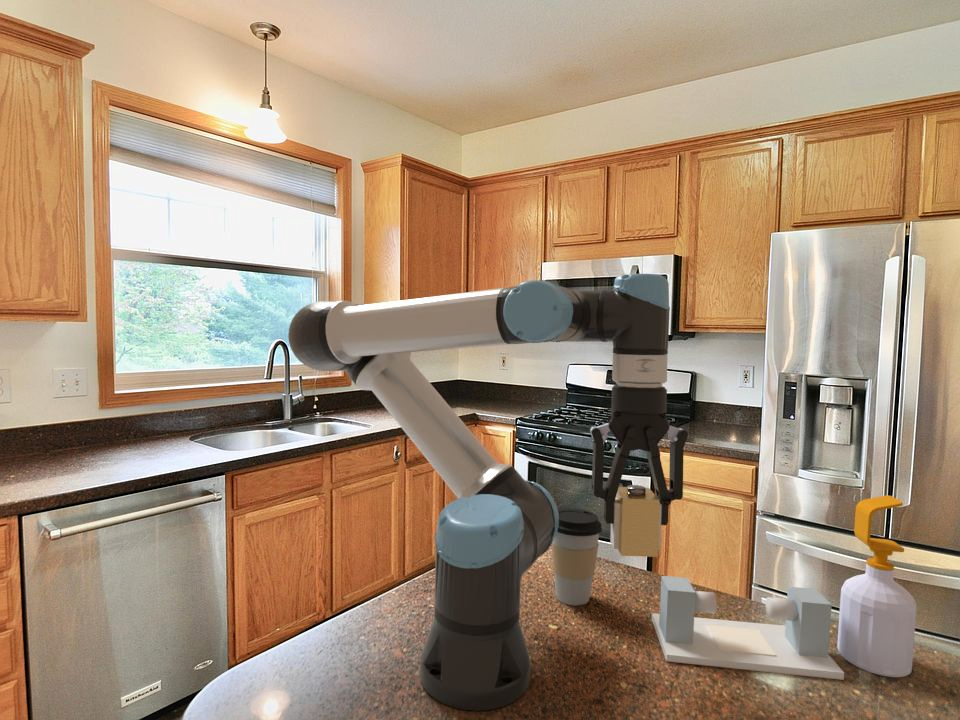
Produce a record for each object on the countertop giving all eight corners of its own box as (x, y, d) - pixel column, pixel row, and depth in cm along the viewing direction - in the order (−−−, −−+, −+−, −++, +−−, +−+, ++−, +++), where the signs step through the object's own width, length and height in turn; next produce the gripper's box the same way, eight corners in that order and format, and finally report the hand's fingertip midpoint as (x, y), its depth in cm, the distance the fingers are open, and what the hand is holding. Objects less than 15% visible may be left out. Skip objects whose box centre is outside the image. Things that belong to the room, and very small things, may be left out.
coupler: (621, 555, 77) (622, 492, 76) (613, 539, 83) (614, 481, 82) (657, 557, 76) (659, 494, 76) (647, 540, 82) (648, 482, 82)
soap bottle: (925, 683, 77) (938, 510, 76) (853, 673, 79) (864, 504, 78) (891, 648, 86) (903, 492, 85) (827, 639, 88) (837, 486, 86)
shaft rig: (666, 661, 80) (669, 600, 80) (651, 619, 92) (654, 566, 92) (843, 679, 77) (848, 617, 77) (805, 633, 89) (808, 579, 89)
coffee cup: (606, 595, 100) (610, 513, 100) (587, 616, 92) (590, 528, 92) (558, 581, 105) (561, 503, 105) (536, 600, 98) (539, 516, 97)
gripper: (578, 385, 75) (574, 554, 76) (713, 388, 74) (708, 558, 75) (572, 381, 83) (568, 534, 84) (695, 383, 82) (690, 538, 83)
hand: (634, 545), depth 79 cm, fingers closed on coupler, 5 cm apart
